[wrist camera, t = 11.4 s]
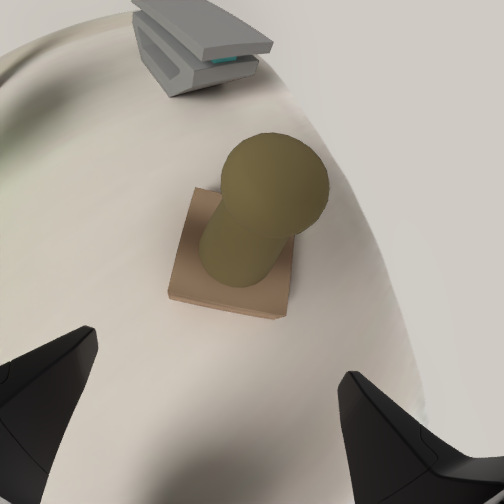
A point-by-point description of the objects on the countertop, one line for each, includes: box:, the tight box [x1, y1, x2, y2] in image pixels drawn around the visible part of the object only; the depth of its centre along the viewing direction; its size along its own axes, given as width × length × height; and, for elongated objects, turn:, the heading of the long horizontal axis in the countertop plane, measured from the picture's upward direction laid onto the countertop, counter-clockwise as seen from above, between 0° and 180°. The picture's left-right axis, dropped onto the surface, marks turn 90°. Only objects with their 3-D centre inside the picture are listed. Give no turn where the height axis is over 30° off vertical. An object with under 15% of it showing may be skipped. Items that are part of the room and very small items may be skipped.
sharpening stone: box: [131, 0, 273, 97], centre depth 26 cm, size 25×8×11 cm, turn 34°
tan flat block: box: [168, 187, 295, 320], centre depth 23 cm, size 9×9×3 cm
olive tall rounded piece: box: [199, 133, 330, 288], centre depth 16 cm, size 6×6×11 cm
